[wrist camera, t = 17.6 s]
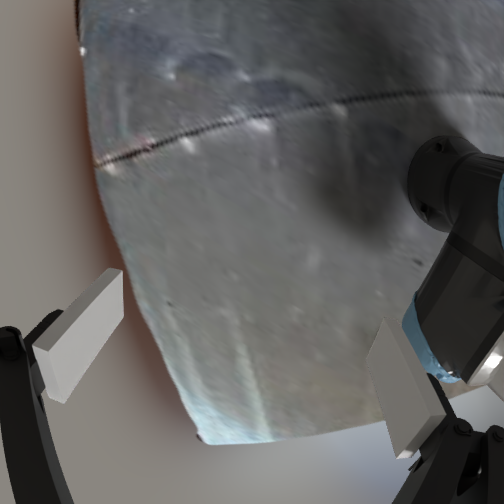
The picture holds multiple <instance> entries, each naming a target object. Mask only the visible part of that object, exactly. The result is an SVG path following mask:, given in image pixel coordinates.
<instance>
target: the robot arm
mask: <svg viewBox="0 0 504 504" xmlns="http://www.w3.org/2000/svg"><path fill="white" fill-rule="evenodd" d="M408 193H409V198H410V201H411V204H412V206H413V209H414V210H415V212H416V214H417V215H418V216H419V217H420V218H421V219H422V220H423V221H424V222H425V223H427V224H428V225H429V226H431V227H432V228H434V229H436V230H439V231H442V232H447V233H450V234H449V236H448V238H447V239H446V241H445V243H444V245H443V247H442V249H441V251H440V253H439V255H438V257H437V258H436V260H435V262H434V264H433V266H432V267H431V269H430V271H429V273H428V274H427V276H426V278H425V279H424V281H423V283H422V284H421V286H420V288H419V289H418V290H417V291H416V292H415V294H414V296H413V299H412V302H411V304H410V306H409V308H408V309H407V311H406V313H405V315H404V317H403V320H402V327H401V326H400V324H399V322H398V320H397V319H393V318H385V317H384V319H383V321H382V323H381V326H380V328H379V331H378V333H377V335H376V337H375V340H374V342H373V344H372V346H371V349H370V351H369V353H368V355H367V357H366V362H367V365H368V368H369V371H370V374H371V377H372V380H373V383H374V386H375V389H376V392H377V395H378V399H379V402H380V405H381V408H382V411H383V415H384V418H385V421H386V425H387V428H388V431H389V435H390V438H391V442H392V445H393V449H394V453H395V456H396V459H398V458H410V457H412V456H413V455H414V454H415V453H416V452H417V450H418V449H419V450H420V453H421V456H420V457H419V459H418V460H417V461H416V462H415V463H414V464H413V465H412V466H411V467H410V468H409V469H408V470H409V471H410V470H411V469H412V468H413V469H412V470H411V472H410V474H409V476H408V478H407V479H406V481H405V483H404V484H403V486H402V488H401V490H400V491H399V493H398V494H397V496H396V498H395V499H394V501H393V502H392V504H504V428H502V427H500V426H497V425H493V426H490V428H489V429H488V430H487V431H486V433H483V432H477V431H473V428H472V426H471V425H470V424H469V423H468V422H467V421H466V420H463V419H461V418H457V417H456V415H455V413H454V411H453V409H452V407H451V405H450V403H449V401H448V399H447V397H445V393H444V391H443V390H442V387H441V385H440V383H439V381H438V380H440V381H443V382H446V383H454V382H456V381H459V380H461V379H462V380H463V381H464V382H465V383H466V384H467V385H469V386H474V385H482V384H483V385H487V386H488V387H489V388H490V389H491V390H492V391H493V392H494V393H495V394H496V395H497V396H498V397H499V398H500V399H501V400H502V401H503V402H504V157H500V156H495V155H490V154H485V153H482V152H481V151H480V150H479V149H478V148H476V147H475V146H474V145H473V144H472V143H470V142H469V141H467V140H465V139H462V138H459V137H454V136H439V137H435V138H433V139H431V140H429V141H428V142H426V143H425V144H424V145H423V146H422V147H421V148H420V149H419V150H418V152H417V153H416V155H415V156H414V158H413V160H412V163H411V166H410V169H409V174H408ZM122 282H123V281H122V270H118V269H113V268H108V269H107V270H106V271H105V272H104V273H103V274H102V275H101V276H99V277H98V278H97V280H95V281H94V282H93V283H92V284H91V285H90V286H89V287H88V288H87V289H86V290H85V291H84V292H83V293H82V294H81V295H80V296H79V297H78V298H77V299H76V300H75V301H74V302H73V303H72V304H71V305H70V306H69V307H68V308H67V309H66V310H65V311H63V310H59V309H58V310H56V311H53V312H51V313H49V314H48V315H47V316H46V317H45V318H44V319H43V320H42V322H40V323H39V324H38V325H37V327H35V328H34V329H33V330H32V331H31V332H30V333H29V334H28V335H27V336H26V337H25V338H24V339H23V338H22V335H21V332H20V330H18V329H17V328H15V327H12V326H5V327H2V328H0V424H1V433H2V440H3V447H4V453H5V458H6V463H7V468H8V473H9V478H10V482H11V486H12V491H13V494H14V498H15V502H16V504H74V502H73V499H72V497H71V494H70V492H69V489H68V486H67V484H66V481H65V478H64V475H63V472H62V469H61V466H60V463H59V460H58V457H57V454H56V450H55V447H54V443H53V440H52V437H51V432H50V429H49V425H48V421H47V417H46V412H45V408H44V403H43V399H42V396H41V393H42V391H43V390H44V389H45V388H46V391H47V394H48V397H49V398H51V399H54V400H56V401H58V402H61V403H63V404H64V403H65V402H66V400H67V399H68V397H69V396H70V394H71V393H72V391H73V389H74V388H75V386H76V385H77V383H78V382H79V380H80V379H81V377H82V376H83V374H84V373H85V371H86V370H87V368H88V367H89V366H90V364H91V363H92V361H93V360H94V358H95V357H96V355H97V353H98V352H99V351H100V349H101V348H102V347H103V345H104V344H105V342H106V341H107V339H108V338H109V337H110V335H111V334H112V332H113V331H114V330H115V328H116V327H117V325H118V324H119V323H120V321H121V320H122V318H123V317H124V313H123V285H122V284H123V283H122ZM424 369H425V370H426V371H427V372H428V373H426V372H425V370H424ZM433 375H436V376H437V378H438V380H437V379H436V378H435V377H434V376H433Z"/></svg>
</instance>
